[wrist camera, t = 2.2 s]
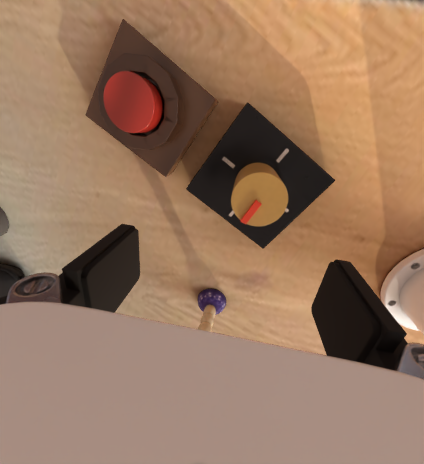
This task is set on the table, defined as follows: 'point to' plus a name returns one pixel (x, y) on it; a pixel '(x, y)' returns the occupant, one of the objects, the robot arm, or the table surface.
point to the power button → (132, 102)
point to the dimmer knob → (258, 195)
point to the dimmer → (258, 151)
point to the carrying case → (8, 278)
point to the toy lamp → (210, 307)
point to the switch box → (172, 94)
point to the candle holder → (3, 222)
